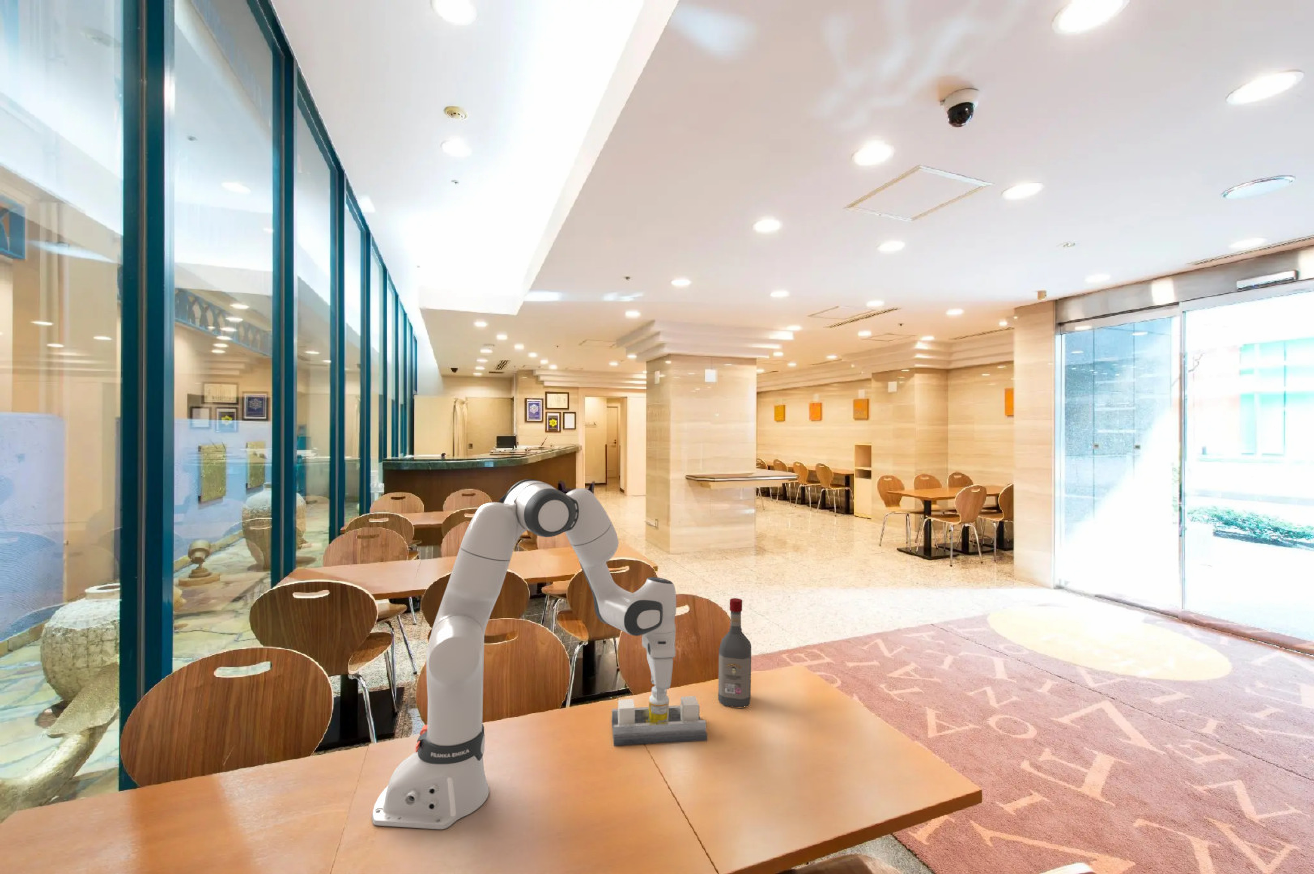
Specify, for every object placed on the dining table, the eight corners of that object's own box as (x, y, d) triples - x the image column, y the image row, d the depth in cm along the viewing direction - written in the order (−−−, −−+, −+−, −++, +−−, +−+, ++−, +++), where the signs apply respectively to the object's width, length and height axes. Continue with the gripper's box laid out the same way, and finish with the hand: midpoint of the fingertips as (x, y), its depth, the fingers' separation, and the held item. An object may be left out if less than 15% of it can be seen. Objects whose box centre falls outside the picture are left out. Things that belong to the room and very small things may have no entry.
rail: (613, 745, 134) (614, 729, 134) (611, 721, 146) (611, 706, 146) (707, 740, 138) (707, 724, 138) (697, 716, 150) (697, 702, 150)
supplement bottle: (663, 732, 138) (664, 694, 138) (645, 727, 140) (645, 690, 141) (671, 722, 143) (672, 686, 143) (653, 717, 145) (653, 682, 145)
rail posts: (619, 731, 138) (619, 708, 138) (617, 722, 143) (618, 699, 143) (698, 727, 141) (698, 704, 141) (694, 718, 146) (695, 695, 146)
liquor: (749, 710, 154) (750, 605, 154) (717, 705, 156) (718, 602, 156) (750, 695, 163) (752, 596, 163) (720, 691, 165) (722, 594, 165)
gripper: (642, 625, 152) (641, 674, 152) (651, 653, 132) (649, 710, 132) (664, 625, 153) (662, 673, 153) (676, 653, 133) (675, 709, 133)
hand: (657, 690), depth 142 cm, fingers open, 8 cm apart
